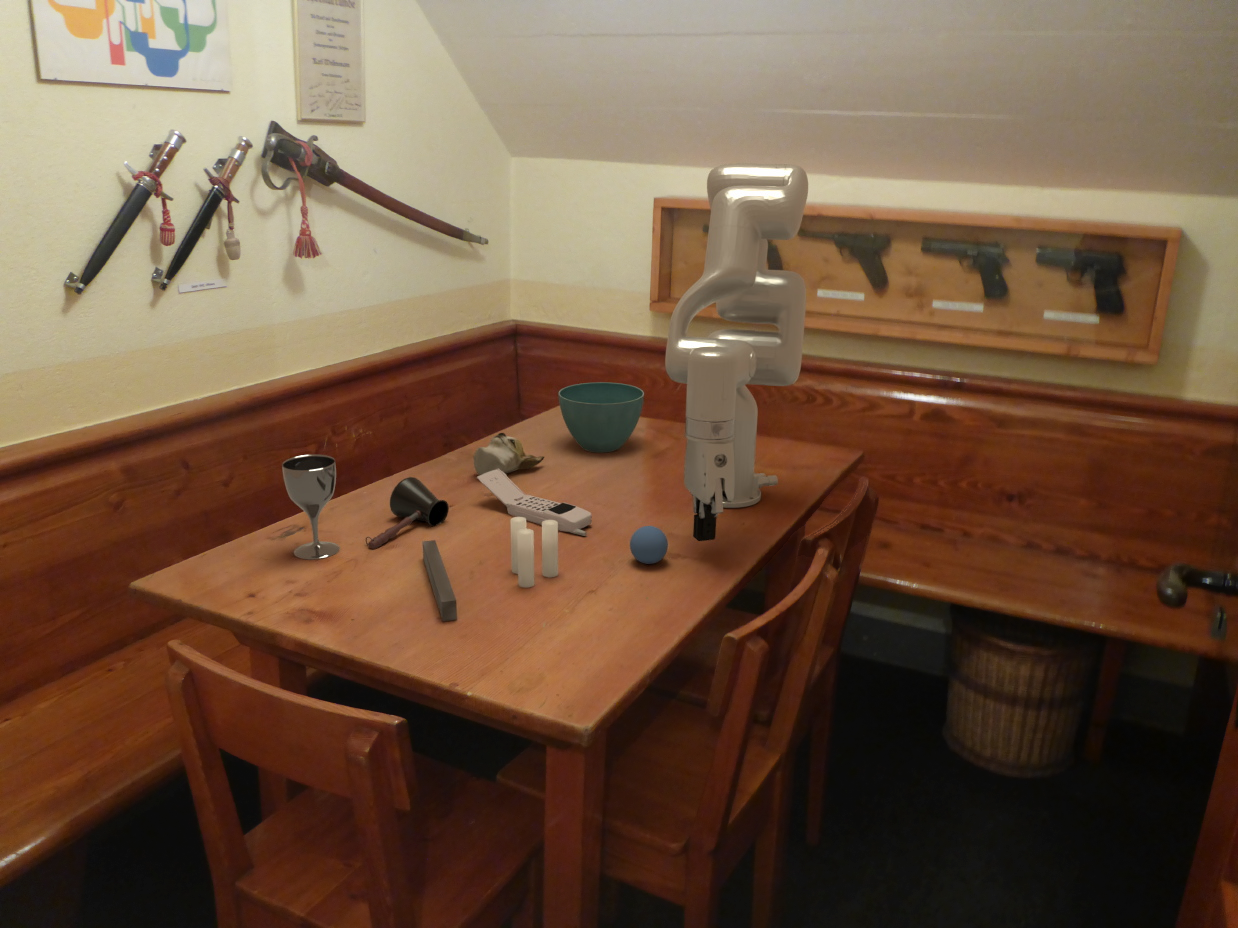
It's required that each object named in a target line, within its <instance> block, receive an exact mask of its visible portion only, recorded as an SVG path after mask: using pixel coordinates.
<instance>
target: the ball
mask: <svg viewBox="0 0 1238 928" xmlns="http://www.w3.org/2000/svg"><path fill="white" fill-rule="evenodd" d="M629 541H630V542H629V548H630V551H631V552H630V553H631V555H632V556H633V557H634V559H636V560H637V561H638V562H639V563H642V564H646V565H651V564H652V565H653V564H657V563H658V562H660V561H662V559H663V558H664V557H665V556H666V554H667V552H668V548H669V541H668V537H667V536H666V534H665V533H664V532H663V530H661V529H660V528H659V527H656V526H653V525H645V526H642V527H639V528H638V529H636V530H635V531H634V533H632V535H631V537H630V540H629Z"/></svg>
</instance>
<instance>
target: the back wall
mask: <svg viewBox="0 0 1238 928" xmlns="http://www.w3.org/2000/svg"><path fill="white" fill-rule="evenodd" d="M422 558H423V562H424V567H425V569H426V572H427V575H428V578H429V582H430V586H431V588H432V592H433V595H434V598H435V601H436V604H437V608H438V611H439V614H440V618H441V621H442V622H443V623H444V622H451V621H452V622H453V621H457V620H458V613H457V612H458V608H457V599H456V596H455V593H454V592H455V591H454V590H453V587H452V585H451V581H450V579H449V576H448V573H447V570H446V567H445V563H444V562H443V559H442V555H441V553H440V550H439V548H438V545H437V541H436V539H434V540H433V539H432V540H424V541H422Z"/></svg>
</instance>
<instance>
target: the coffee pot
mask: <svg viewBox="0 0 1238 928" xmlns="http://www.w3.org/2000/svg"><path fill="white" fill-rule="evenodd" d="M389 509H390V511H391V513H392V514H393V515H394V516H396V517H398V518H402V520H401V521H400V522H398V524H396V525H394V526H392V527H389V528H387V529H385V531H384V532H381V533H379V534H378V535H377V536H374V537H373V538H372V537H370V536H367V537H365V539H364V540H365V543H366V546H368V548H369V549H371V550H375V549H378V548H380V547H381V546H382V545H385V543H387V542H388V541H389V540H390V539H391V540H392V539H393V538H394V537H396V535H397V534H398V533H399V532H400V530H403V529H404V528H406V527H407V526H409V525H411V524H412V522H413V521H415V520H416V521H422V522H427V524H428V525H429V526H431V527H432V528H434V527H435V526H437V525H440V524H443V523H444V522H445V521H446V519H447V517H448V514H449V511H450V510H449V509H450V507H449V504H448V502H447V500H444V499H438V498H437V497H436V496H435V494H434V493H433V492H431V490H430V489H429V488H428V487H427V486H426V485H425V484H424V483H423V482H422V481H421V480H420V479H419V478H417V477H415V476H408V477H406V478H403V479H402V480H401V481H399V482H398V483H397V484H396V485H395V487H394V488H393V490H392V492H391V494H390V497H389ZM368 539H370V541H368Z"/></svg>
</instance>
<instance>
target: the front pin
mask: <svg viewBox="0 0 1238 928" xmlns="http://www.w3.org/2000/svg"><path fill="white" fill-rule="evenodd" d="M558 532H559V530H558V522H557V521H555V520H545V521H543V522H542V525H541V548H542V550H541V553H542V554H541V555H542V559H541V560H542V562H541V565H542V566H541V567H542V568H541V569H542V571H541V573H542V577H546V578H555V577H557V576H559V533H558Z"/></svg>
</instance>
